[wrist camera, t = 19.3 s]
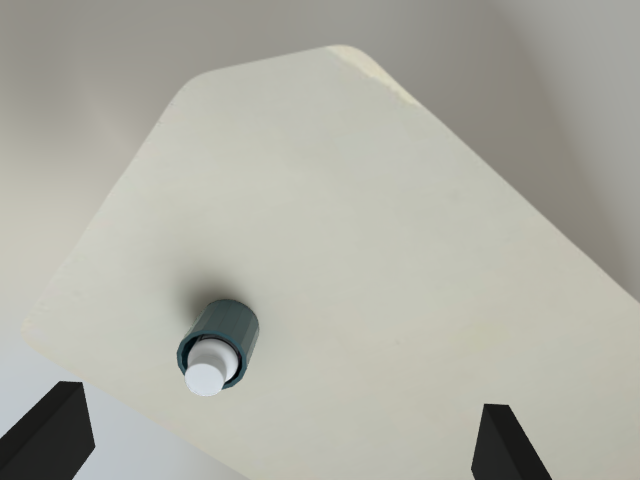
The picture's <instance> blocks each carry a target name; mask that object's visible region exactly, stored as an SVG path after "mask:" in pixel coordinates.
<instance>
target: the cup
mask: <svg viewBox="0 0 640 480" xmlns="http://www.w3.org/2000/svg"><path fill="white" fill-rule="evenodd" d="M201 334H216V335H219V336H221V337H224V338H226V339H228V340H229V341H230V342H232V343H233V344H234V345H235V346H236V347H237V348H238V350H239V352H240V354H241V356H242V357H241V359H240V362H239V365H238V367H237V370H236V372H235V374H234V375H233V376H232V377H231V378H230V379H229V380H228V381H226V382H225V383H224V385H223V387H222V389H221V390H223V389H226V388H229V387H232V386H234V385H235V384H236V383H238V382H239V381H240V380H241V379H242V378H243V376H244V374H245V371H246V369H247V367H248V364H249V361H250V358H251V355H252V352H253V350H254V347H255V344H256V341H257V338H258V335H259V324H258V320H257V318H256V316H255V314H254V313H253V312H252V311H251V310H250V309H249V308H248V307H247V306H245V305H244V304H242V303H240V302H237V301H234V300H218V301H215V302H213V303H211V304H209V305H208V306H207V307H205V309H204V310H203V311H202V312H201V313H200V315H199V316H198V317H197V319H196V320H195V322H194V323H193V325H192V326H191V328H190V329H189V331H188V332H187V334H186V335H185V337H184V338H183V340H182V341H181V343H180V345H179V348H178V350H177V362H178V366H179V368H180V370H181V371H182V373H183V375H184V376H185V373H186V371H187V369H188V355H189V353H190V351H191V349H192V347H193V345H194V344H195V342H196V340H197V339H198V337H199V336H200V335H201Z"/></svg>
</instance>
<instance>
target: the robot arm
mask: <svg viewBox="0 0 640 480" xmlns="http://www.w3.org/2000/svg"><path fill="white" fill-rule="evenodd" d="M94 448H95V443H94V438H93V433H92V428H91V423H90V419H89V413H88V408H87V403H86V398H85V393H84V388H83V384H82V382H66V381H59V382H58V383H57V384H56V385H55V386H54V387H53V388H52V389H51V390H50V391H49V392H48V393H47V394H46V395H45V396H44V397H43V398H42V399H41V400H40V401H39V402H38V403H37V404H36V405H35V406H34V407H32V409H31V410H29V411H28V413H26V414H25V415H24V416H23V417H22V418H21V419H20V420H19V421H18V422H17V423H16V424H15V425H14V426H13V427H12V428H11V429H10V430H9V431H8V432H7V433H6V434H5V435H4V436H3V437H2V438H1V439H0V480H72V479H73V478H74V476H75V475H76V473H77V472H78V470H79V469H80V468H81V466H82V465H83V464H84V462H85V461H86V460H87V458H88V457H89V455H90V454H91V453H92V451H93V450H94ZM471 470H472V473H473V476H474V478H475V480H552V478H551V477H550V475H549V473H548V472H547V470H546V468H545V466H544V465H543V463H542V461H541V460H540V458H539V456H538V455H537V453H536V451H535V449H534V448H533V446H532V444H531V443H530V441H529V439H528V437H527V436H526V434H525V432H524V431H523V429H522V427H521V425H520V424H519V422H518V420H517V419H516V417H515V415H514V413H513V412H512V410H511V408H510V407H509V405H499V404H484V407H483V412H482V417H481V422H480V427H479V432H478V437H477V442H476V447H475V452H474V457H473V462H472V467H471Z"/></svg>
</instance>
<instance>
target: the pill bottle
mask: <svg viewBox="0 0 640 480" xmlns="http://www.w3.org/2000/svg"><path fill="white" fill-rule="evenodd" d="M241 357H242V356H241V354H240V352H239V350H238V348H237V347H236V346H235V345H234V344H233V343H232V342H230V341H229V340H228V339H226V338H224V337H221V336H219V335H216V334H201V335H200V336H199V337H198V339H197V340H196V342H195V344H194V345H193V347H192V349H191V351H190V353H189V355H188V369H187V371H186V373H185V383H186V385H187V387H188V388H189V389H190V390H191V391H192V392H194V393H195V394H198V395H201V396H211V395H214V394H216V393H218V392H219V391H220V390H221V389H222V387H223V385H224V383H225V382H226V381H228V380H229V379H230V378H231V377H232V376H233V375H234V374H235V372H236V370H237V367H238V365H239V362H240V359H241Z"/></svg>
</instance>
